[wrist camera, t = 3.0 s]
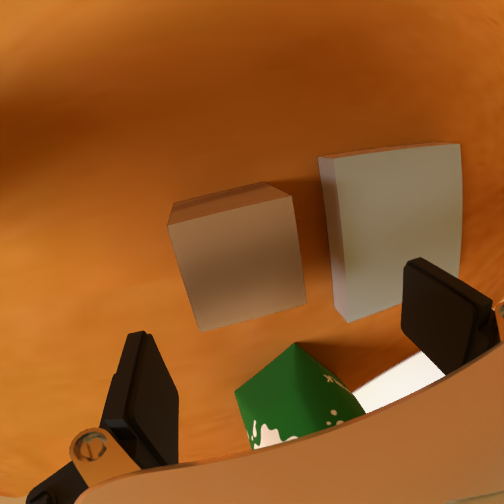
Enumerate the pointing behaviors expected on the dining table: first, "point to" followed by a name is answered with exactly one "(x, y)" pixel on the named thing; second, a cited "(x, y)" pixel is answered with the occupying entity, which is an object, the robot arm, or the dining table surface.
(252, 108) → the dining table surface
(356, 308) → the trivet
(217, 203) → the walnut block
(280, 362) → the soya milk
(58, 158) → the dining table surface
